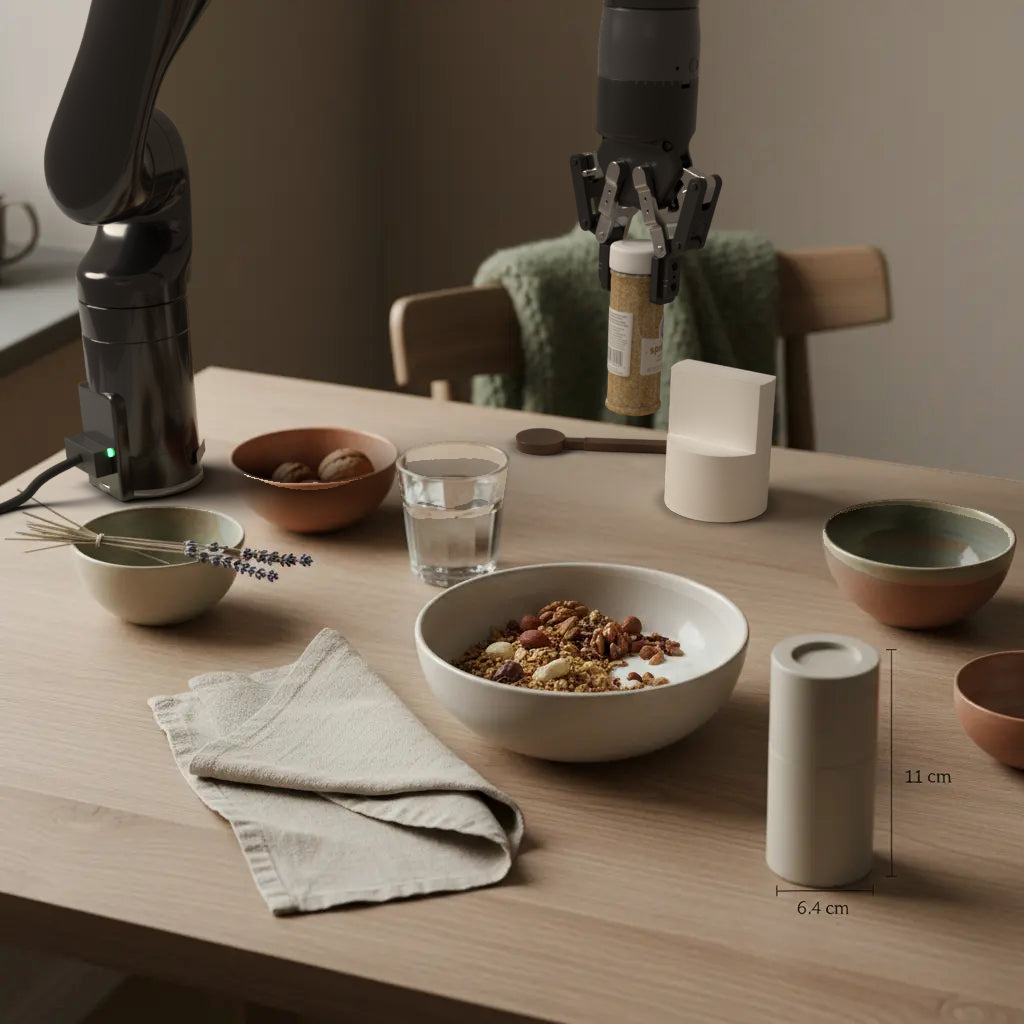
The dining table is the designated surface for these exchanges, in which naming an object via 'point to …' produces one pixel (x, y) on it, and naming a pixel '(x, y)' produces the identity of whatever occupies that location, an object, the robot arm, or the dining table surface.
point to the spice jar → (633, 331)
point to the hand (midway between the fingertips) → (637, 295)
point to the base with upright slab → (718, 442)
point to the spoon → (581, 443)
